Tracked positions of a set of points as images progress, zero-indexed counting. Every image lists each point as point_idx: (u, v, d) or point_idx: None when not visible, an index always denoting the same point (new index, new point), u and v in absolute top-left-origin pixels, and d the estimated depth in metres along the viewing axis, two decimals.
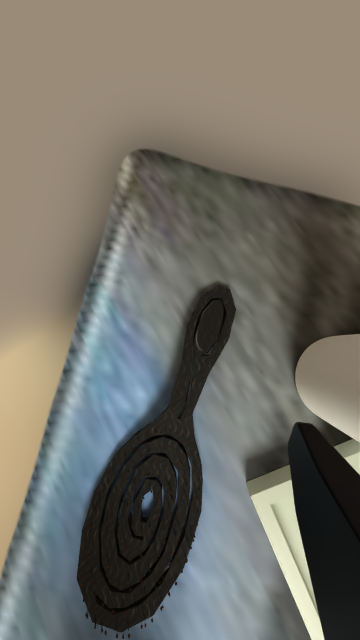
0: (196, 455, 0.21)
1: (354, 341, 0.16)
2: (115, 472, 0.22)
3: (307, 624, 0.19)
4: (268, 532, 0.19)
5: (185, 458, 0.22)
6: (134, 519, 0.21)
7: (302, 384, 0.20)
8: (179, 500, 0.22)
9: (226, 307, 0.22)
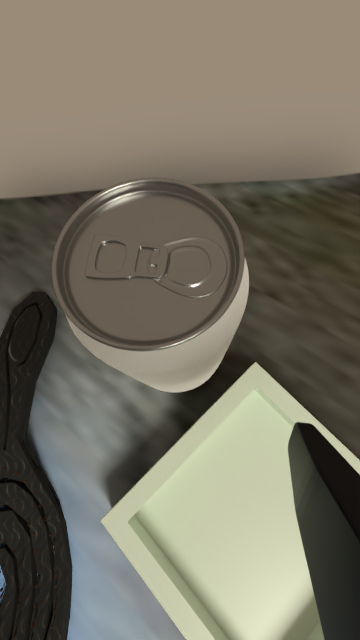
0: (43, 490, 0.17)
1: None
2: None
3: None
4: (134, 562, 0.14)
5: (32, 500, 0.17)
6: None
7: None
8: (38, 563, 0.16)
9: (42, 309, 0.20)
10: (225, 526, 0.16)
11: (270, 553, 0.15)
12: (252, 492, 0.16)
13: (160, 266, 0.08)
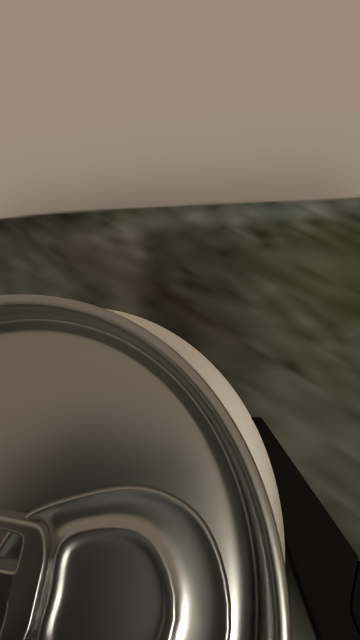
0: None
1: None
2: None
3: None
4: None
5: None
6: None
7: None
8: None
9: None
10: None
11: None
12: None
13: (13, 617, 0.03)
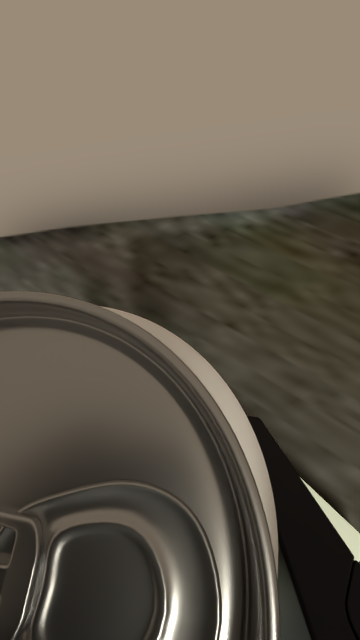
0: None
1: None
2: None
3: None
4: None
5: None
6: None
7: None
8: None
9: None
10: None
11: None
12: None
13: (6, 610, 0.03)
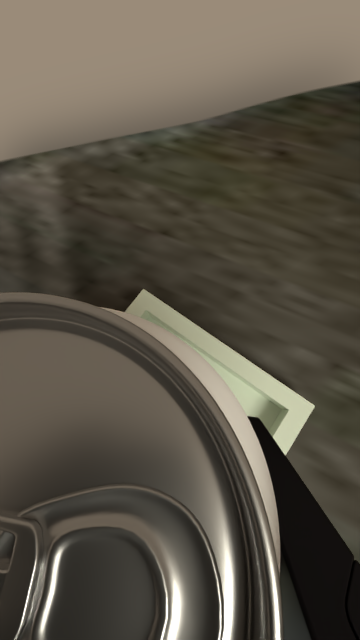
0: None
1: None
2: None
3: None
4: None
5: None
6: None
7: None
8: None
9: None
10: None
11: None
12: None
13: (5, 616, 0.03)
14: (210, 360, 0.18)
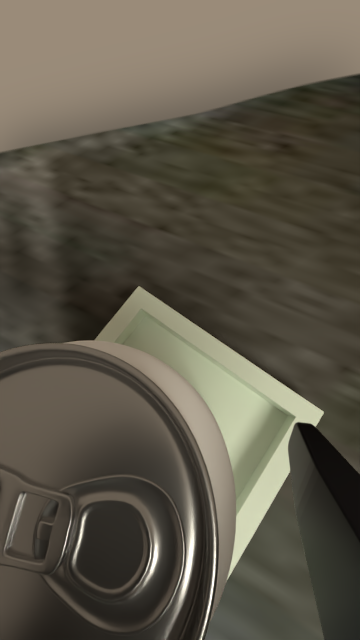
0: None
1: None
2: None
3: None
4: None
5: None
6: None
7: None
8: None
9: None
10: None
11: None
12: None
13: (53, 550, 0.04)
14: (210, 362, 0.17)
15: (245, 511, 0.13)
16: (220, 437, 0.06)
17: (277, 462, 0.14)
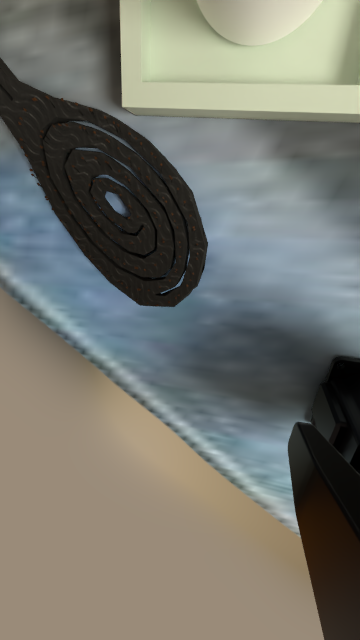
0: (73, 104, 0.16)
1: None
2: (73, 223, 0.19)
3: (302, 108, 0.13)
4: (172, 104, 0.14)
5: (76, 124, 0.16)
6: (122, 225, 0.18)
7: (213, 13, 0.12)
8: (123, 161, 0.17)
9: None
10: None
11: None
12: None
13: None
14: None
15: None
16: None
17: None
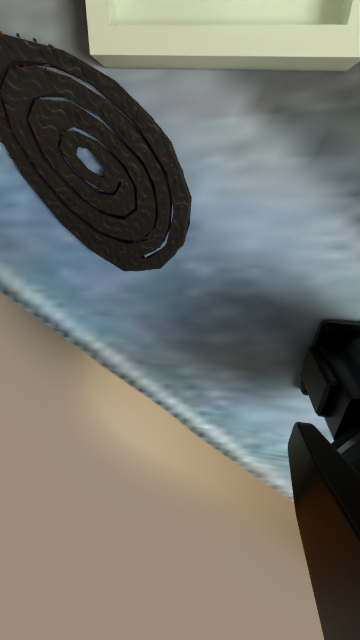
0: (32, 44, 0.14)
1: None
2: (44, 186, 0.18)
3: (283, 52, 0.12)
4: (145, 50, 0.13)
5: (36, 68, 0.15)
6: (98, 184, 0.17)
7: None
8: (94, 109, 0.15)
9: None
10: None
11: None
12: None
13: None
14: None
15: None
16: None
17: None
